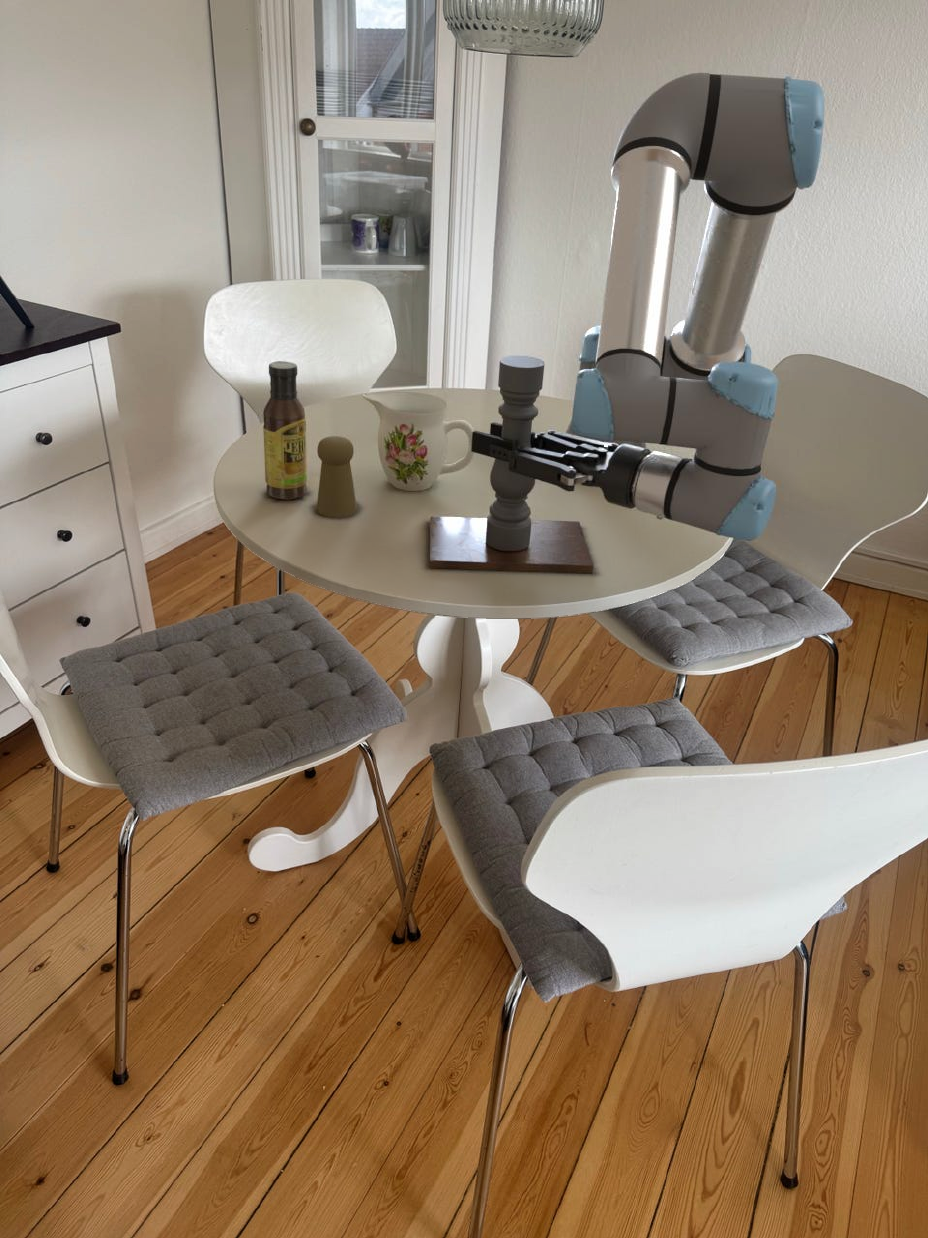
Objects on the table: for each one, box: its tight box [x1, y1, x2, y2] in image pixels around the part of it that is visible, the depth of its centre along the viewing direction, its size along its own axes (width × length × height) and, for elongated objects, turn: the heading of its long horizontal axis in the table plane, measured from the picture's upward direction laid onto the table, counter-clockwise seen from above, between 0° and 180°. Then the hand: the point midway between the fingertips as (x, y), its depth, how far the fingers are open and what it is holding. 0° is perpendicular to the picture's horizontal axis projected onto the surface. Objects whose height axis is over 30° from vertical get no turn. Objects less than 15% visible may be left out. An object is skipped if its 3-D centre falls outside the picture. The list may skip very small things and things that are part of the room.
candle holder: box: [486, 355, 545, 551], centre depth 121 cm, size 6×6×25 cm
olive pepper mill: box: [316, 435, 358, 518], centre depth 134 cm, size 6×6×11 cm
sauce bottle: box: [262, 360, 308, 500], centre depth 136 cm, size 6×6×20 cm
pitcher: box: [362, 391, 476, 492], centre depth 143 cm, size 11×18×14 cm, turn 83°
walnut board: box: [429, 515, 594, 574], centre depth 128 cm, size 22×14×1 cm, turn 92°
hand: (482, 436), depth 122 cm, fingers closed on candle holder, 4 cm apart
